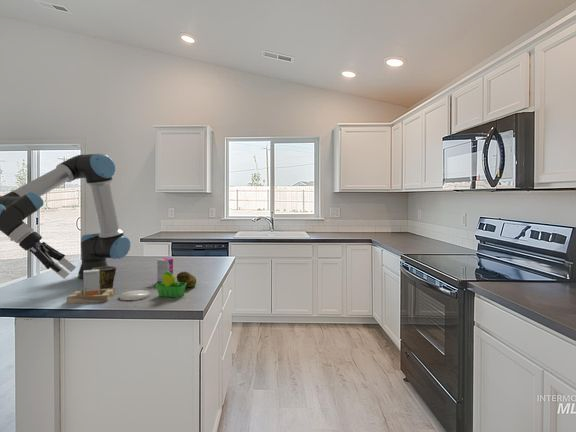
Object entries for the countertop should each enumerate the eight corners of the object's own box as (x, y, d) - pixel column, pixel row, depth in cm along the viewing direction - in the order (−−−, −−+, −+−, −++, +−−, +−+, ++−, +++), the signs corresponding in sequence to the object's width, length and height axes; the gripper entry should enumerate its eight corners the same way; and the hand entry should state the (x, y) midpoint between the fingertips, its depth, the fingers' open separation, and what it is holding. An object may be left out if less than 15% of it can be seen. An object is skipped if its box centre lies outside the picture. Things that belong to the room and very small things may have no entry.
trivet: (123, 293, 163) (123, 291, 163) (151, 292, 165) (151, 289, 165) (116, 301, 151) (115, 298, 151) (146, 299, 153) (146, 297, 153)
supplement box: (167, 283, 183) (167, 260, 182) (156, 282, 184) (156, 259, 183) (173, 280, 188) (173, 258, 188) (163, 279, 190) (162, 257, 189)
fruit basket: (187, 294, 163) (187, 268, 162) (177, 299, 154) (177, 272, 154) (164, 292, 165) (164, 267, 165) (153, 297, 157) (152, 271, 156)
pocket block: (77, 295, 159) (77, 289, 159) (114, 294, 162) (114, 288, 162) (66, 303, 147) (66, 297, 147) (106, 301, 150) (106, 295, 150)
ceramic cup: (94, 287, 173) (93, 266, 172) (117, 286, 177) (116, 265, 176) (90, 294, 161) (89, 272, 160) (115, 292, 164) (115, 270, 164)
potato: (203, 285, 178) (203, 269, 178) (184, 291, 167) (183, 274, 167) (190, 283, 182) (190, 267, 182) (170, 289, 171) (170, 272, 171)
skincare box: (83, 300, 151) (82, 272, 151) (83, 298, 155) (83, 270, 155) (100, 299, 154) (99, 270, 154) (100, 296, 158) (99, 269, 157)
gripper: (28, 240, 156) (69, 273, 162) (6, 248, 132) (55, 286, 138) (42, 228, 157) (83, 261, 163) (23, 233, 134) (71, 271, 140)
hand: (70, 272), depth 151 cm, fingers open, 13 cm apart
